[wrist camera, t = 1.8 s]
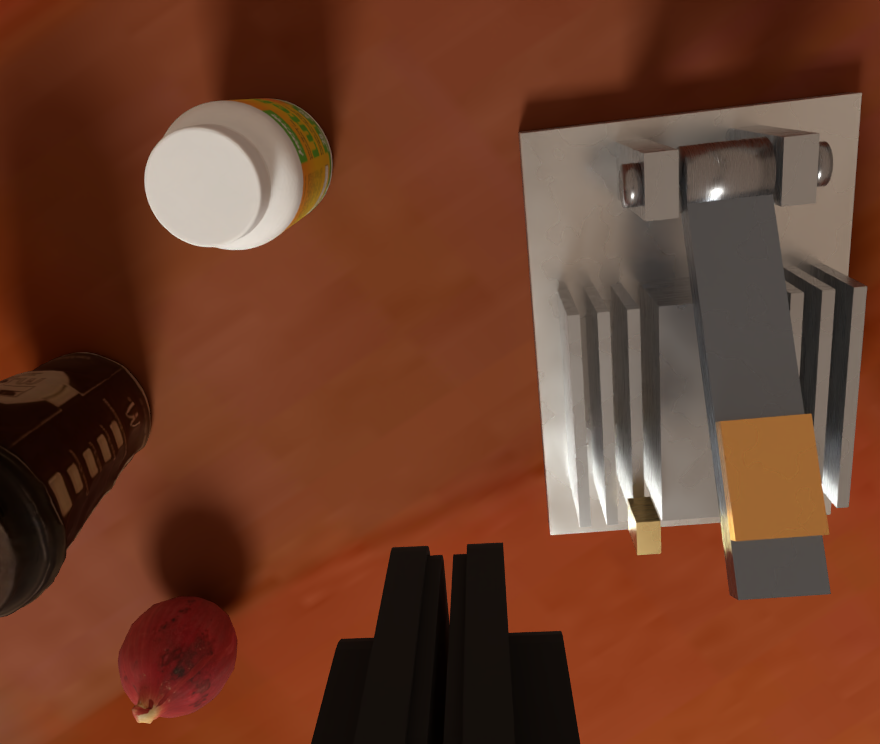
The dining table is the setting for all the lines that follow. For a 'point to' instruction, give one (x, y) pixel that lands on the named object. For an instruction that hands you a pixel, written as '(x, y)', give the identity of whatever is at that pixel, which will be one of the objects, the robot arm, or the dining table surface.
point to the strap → (751, 373)
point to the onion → (177, 657)
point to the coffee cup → (60, 461)
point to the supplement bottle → (238, 172)
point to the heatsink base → (676, 307)
